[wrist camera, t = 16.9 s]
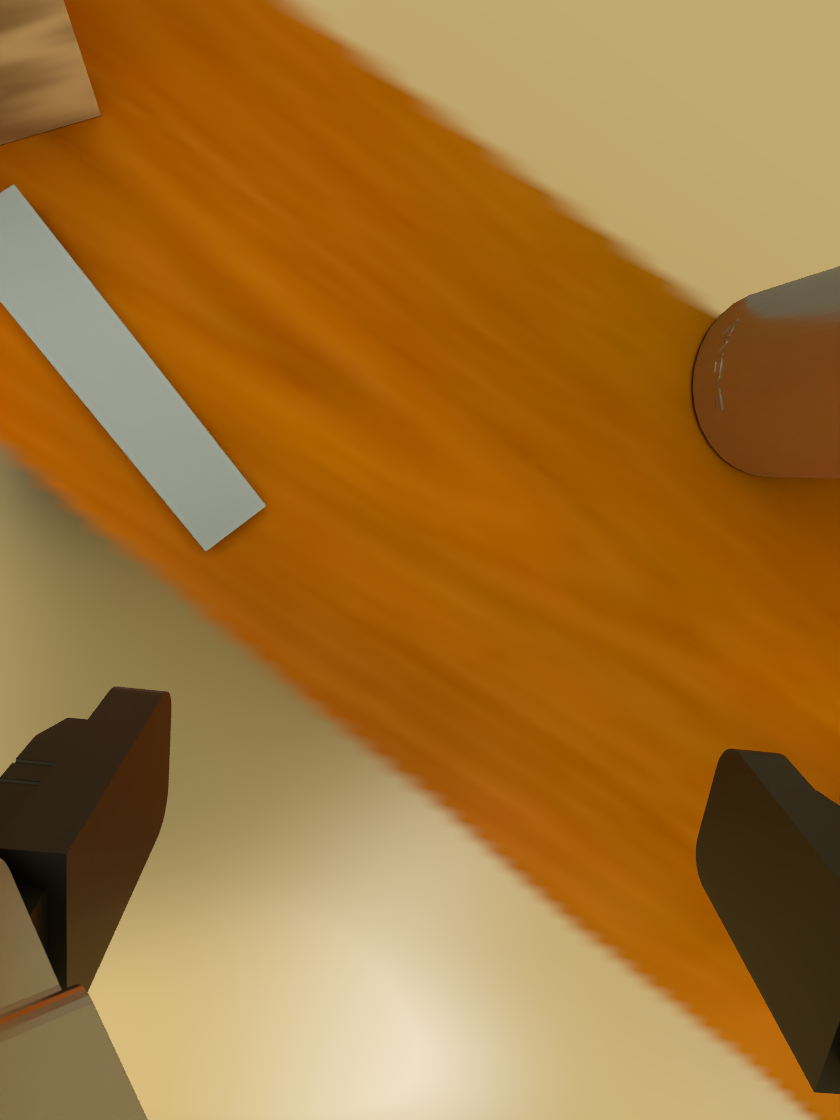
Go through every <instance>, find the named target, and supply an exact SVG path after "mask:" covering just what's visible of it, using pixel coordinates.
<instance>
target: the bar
mask: <svg viewBox="0 0 840 1120" xmlns="http://www.w3.org/2000/svg"><path fill="white" fill-rule="evenodd" d="M0 302H1V303H2V304H3V305H4V307H5V308H6V309H7V310H8V312H9V313H10V314H11V315H12V316H13V318H14V319H15V320H16V321H17V323H18V324H19V325H20V326H21V327H22V329H23V330H24V331H25V332H26V333H27V335H28V336H29V337H30V338H31V340H32V341H33V342H34V343H35V344H36V346H37V347H38V348H39V349H40V351H41V352H42V353H43V354H44V355H45V357H46V358H47V359H48V360H49V361H50V363H51V364H52V365H53V366H54V368H55V369H56V370H57V371H58V372H59V374H60V375H61V376H62V377H63V378H64V380H65V381H66V382H67V383H68V385H69V386H70V387H71V388H72V389H73V391H74V392H75V393H76V394H77V396H78V397H79V398H80V399H81V400H82V402H83V403H84V404H85V405H86V406H87V408H88V409H89V410H90V411H91V413H92V414H93V415H94V416H95V417H96V419H97V420H98V421H99V422H100V424H101V425H102V426H103V427H104V428H105V430H106V431H107V432H108V433H109V434H110V436H111V437H112V438H113V439H114V441H115V442H116V443H117V444H118V445H119V447H120V448H121V449H122V450H123V452H124V453H125V454H126V455H127V456H128V458H129V459H130V460H131V461H132V462H133V464H134V465H135V466H136V467H137V469H138V470H139V471H140V472H141V473H142V475H143V476H144V477H145V478H146V480H147V481H148V482H149V483H150V484H151V486H152V487H153V488H154V489H155V490H156V492H157V493H158V494H159V495H160V497H161V498H162V499H163V500H164V501H165V503H166V504H167V505H168V506H169V508H170V509H171V510H172V511H173V512H174V514H175V515H176V516H177V517H178V518H179V520H180V521H181V522H182V523H183V525H184V526H185V527H186V528H187V529H188V531H189V532H190V533H191V534H192V536H193V537H194V538H195V539H196V540H197V542H198V543H199V544H200V545H201V546H202V548H203V549H204V550H205V551H207V550H209V549H210V548H211V547H213V546H214V545H215V544H217V543H218V542H219V541H220V540H222V539H223V538H224V537H226V536H227V535H228V534H230V533H231V532H232V531H234V530H235V529H236V528H238V527H239V526H240V525H242V524H243V523H244V522H246V521H247V520H248V519H250V518H251V517H252V516H254V515H255V514H256V513H258V512H259V511H260V510H261V509H263V508H264V507H265V506H266V505H265V504H264V502H263V501H262V500H261V499H260V497H259V496H258V495H257V493H256V492H255V491H254V490H253V488H252V487H251V486H250V485H249V483H248V482H247V481H246V479H245V478H244V477H243V476H242V474H241V473H240V472H239V470H238V469H237V468H236V467H235V465H234V464H233V463H232V462H231V460H230V459H229V458H228V456H227V455H226V454H225V453H224V451H223V450H222V449H221V448H220V446H219V445H218V444H217V442H216V441H215V440H214V439H213V437H212V436H211V435H210V434H209V432H208V431H207V430H206V428H205V427H204V426H203V425H202V423H201V422H200V421H199V419H198V418H197V417H196V416H195V414H194V413H193V412H192V411H191V409H190V408H189V407H188V405H187V404H186V403H185V402H184V400H183V399H182V398H181V397H180V395H179V394H178V393H177V391H176V390H175V389H174V388H173V386H172V385H171V384H170V383H169V381H168V380H167V379H166V377H165V376H164V375H163V374H162V372H161V371H160V370H159V368H158V367H157V366H156V365H155V363H154V362H153V361H152V360H151V358H150V357H149V356H148V354H147V353H146V352H145V351H144V349H143V348H142V347H141V346H140V344H139V343H138V342H137V340H136V339H135V338H134V337H133V335H132V334H131V333H130V332H129V330H128V329H127V328H126V326H125V325H124V324H123V323H122V321H121V320H120V319H119V317H118V316H117V315H116V314H115V312H114V311H113V310H112V309H111V307H110V306H109V305H108V303H107V302H106V301H105V300H104V298H103V297H102V296H101V295H100V293H99V292H98V291H97V289H96V288H95V287H94V286H93V284H92V283H91V282H90V281H89V279H88V278H87V277H86V275H85V274H84V273H83V272H82V270H81V269H80V268H79V266H78V265H77V264H76V263H75V261H74V260H73V259H72V258H71V256H70V255H69V254H68V252H67V251H66V250H65V249H64V247H63V246H62V245H61V244H60V242H59V241H58V240H57V238H56V237H55V236H54V235H53V233H52V232H51V231H50V230H49V228H48V227H47V226H46V224H45V223H44V222H43V221H42V219H41V218H40V217H39V215H38V214H37V213H36V212H35V210H34V209H33V208H32V207H31V205H30V204H29V203H28V201H27V200H26V199H25V198H24V196H23V195H22V194H21V193H20V191H19V190H18V189H17V187H16V186H15V185H14V184H13V185H12V186H10V187H9V188H7V189H6V190H4V191H3V192H1V193H0Z"/></svg>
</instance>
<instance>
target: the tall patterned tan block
mask: <svg viewBox="0 0 840 1120" xmlns="http://www.w3.org/2000/svg"><path fill="white" fill-rule="evenodd" d="M97 116H101V113H100V110H99V107H98V104H97V101H96V98H95V95H94V92H93V89H92V86H91V83H90V80H89V77H88V74H87V70H86V67H85V64H84V61H83V58H82V55H81V52H80V49H79V46H78V43H77V40H76V37H75V34H74V31H73V28H72V25H71V22H70V18H69V15H68V12H67V9H66V6H65V3H64V0H0V145H2V144H5V143H9V142H12V141H16V140H19V139H22V138H26V137H29V136H33V135H36V134H39V133H43V132H46V131H50V130H53V129H56V128H60V127H63V126H67V125H70V124H74V123H77V122H80V121H84V120H87V119H91V118H94V117H97Z"/></svg>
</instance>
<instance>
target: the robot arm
mask: <svg viewBox="0 0 840 1120" xmlns="http://www.w3.org/2000/svg"><path fill="white" fill-rule="evenodd" d="M693 396H694V405H695V411H696V414H697V417H698V421H699V424H700V427H701V429H702V431H703V433H704V435H705V437H706V438H707V440H708V442H709V444H710V445H711V446H712V447H713V449H714V450H715V451H716V452H717V453H718V455H719V456H720V457H721V458H722V459H724V460H725V461H726V462H728V463H729V464H730V465H732V466H733V467H734V468H736V469H738V470H741V471H743V472H745V473H748V474H750V475H756V476H762V477H785V478H828V479H840V266H839V267H836V268H833V269H830V270H827V271H823V272H821V273H817V274H814V275H811V276H807V277H804V278H801V279H798V280H795V281H792V282H789V283H786V284H783V285H780V286H776V287H773V288H770V289H767V290H764V291H761V292H758V293H755V294H752V295H749V296H747V297H745V298H744V299H741V300H740V301H738V302H736V303H734V304H733V305H731V306H730V307H729V308H728V309H727V310H726V311H725V312H723V313H722V314H721V315H720V316H719V317H718V319H717V320H716V321H715V323H714V324H713V325H712V327H711V328H710V329H709V331H708V332H707V334H706V336H705V339H704V341H703V343H702V345H701V347H700V349H699V353H698V356H697V360H696V364H695V368H694V378H693ZM170 728H171V697H170V694H169V692H165V691H155V690H145V689H135V688H125V687H113V688H112V689H111V690H110V691H109V693H107V695H106V696H105V698H104V699H103V700H102V701H101V703H100V704H99V705H98V707H97V708H96V709H95V711H94V712H93V713H92V715H91V716H90V718H89V719H88V720H85V719H76V718H66V719H65V720H63V721H61V722H59V723H57V724H56V725H54V726H52V727H50V728H49V729H47V730H45V731H43V732H41V733H39V734H38V735H36V736H35V737H34V738H33V739H32V740H31V742H30V743H29V744H28V745H27V746H26V748H25V749H24V750H23V751H22V753H20V755H19V756H18V757H17V758H16V762H15V763H12V764H11V765H10V766H9V768H8V769H7V770H6V771H5V772H4V773H3V775H2V776H1V777H0V1120H148V1119H147V1117H146V1115H145V1113H144V1111H143V1109H142V1107H141V1105H140V1102H139V1100H138V1098H137V1096H136V1094H135V1092H134V1089H133V1087H132V1085H131V1083H130V1081H129V1079H128V1077H127V1075H126V1073H125V1070H124V1068H123V1066H122V1064H121V1062H120V1059H119V1057H118V1055H117V1053H116V1051H115V1049H114V1047H113V1044H112V1042H111V1040H110V1038H109V1036H108V1034H107V1032H106V1029H105V1027H104V1025H103V1023H102V1021H101V1019H100V1017H99V1015H98V1012H97V1010H96V1008H95V1006H94V1004H93V1002H92V1000H91V998H90V996H89V994H88V993H87V992H88V990H89V988H90V986H91V983H92V981H93V979H94V977H95V974H96V972H97V969H98V968H99V966H100V963H101V961H102V959H103V957H104V954H105V952H106V950H107V948H108V945H109V943H110V941H111V939H112V937H113V934H114V932H115V930H116V928H117V926H118V924H119V921H120V919H121V917H122V915H123V912H124V910H125V908H126V906H127V904H128V901H129V899H130V897H131V895H132V892H133V890H134V888H135V886H136V884H137V881H138V879H139V877H140V875H141V873H142V870H143V868H144V866H145V864H146V861H147V859H148V857H149V855H150V852H151V850H152V848H153V846H154V844H155V842H156V839H157V837H158V835H159V832H160V829H161V825H162V822H163V818H164V814H165V808H166V803H167V795H168V780H169V755H170V730H171V729H170ZM696 863H697V870H698V875H699V878H700V881H701V883H702V886H703V888H704V889H705V891H706V893H707V895H708V897H709V899H710V901H711V902H712V904H713V906H714V908H715V910H716V912H717V913H718V915H719V917H720V919H721V921H722V923H723V925H724V926H725V928H726V930H727V932H728V934H729V936H730V937H731V939H732V941H733V943H734V945H735V947H736V949H737V950H738V952H739V954H740V956H741V958H742V960H743V961H744V963H745V965H746V967H747V969H748V971H749V973H750V974H751V976H752V978H753V980H754V982H755V984H756V985H757V987H758V989H759V991H760V993H761V995H762V997H763V998H764V1000H765V1002H766V1004H767V1006H768V1008H769V1009H770V1011H771V1013H772V1015H773V1017H774V1019H775V1021H776V1022H777V1024H778V1026H779V1028H780V1030H781V1032H782V1033H783V1035H784V1037H785V1039H786V1041H787V1043H788V1045H789V1046H790V1048H791V1050H792V1052H793V1054H794V1056H795V1057H796V1059H797V1061H798V1063H799V1065H800V1067H801V1069H802V1070H803V1072H804V1074H805V1076H806V1078H807V1080H808V1081H809V1083H810V1085H811V1087H812V1089H813V1091H814V1092H819V1093H833V1094H840V806H839V805H837V804H836V803H834V802H833V801H831V800H830V799H828V798H827V797H826V796H824V795H823V794H821V793H820V792H818V791H815V789H814V788H813V787H812V786H811V785H810V784H809V783H808V782H807V780H806V779H805V778H804V777H803V776H802V775H801V774H800V773H799V771H798V770H797V769H796V768H795V767H794V766H793V765H792V764H791V762H790V761H789V760H788V759H787V758H786V757H785V756H784V755H782V754H779V753H770V752H760V751H750V750H739V749H728V750H726V751H725V752H724V753H723V754H722V755H721V757H720V759H719V761H718V764H717V768H716V771H715V775H714V779H713V782H712V786H711V790H710V794H709V797H708V801H707V805H706V808H705V812H704V816H703V820H702V823H701V827H700V831H699V835H698V839H697V845H696Z"/></svg>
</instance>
